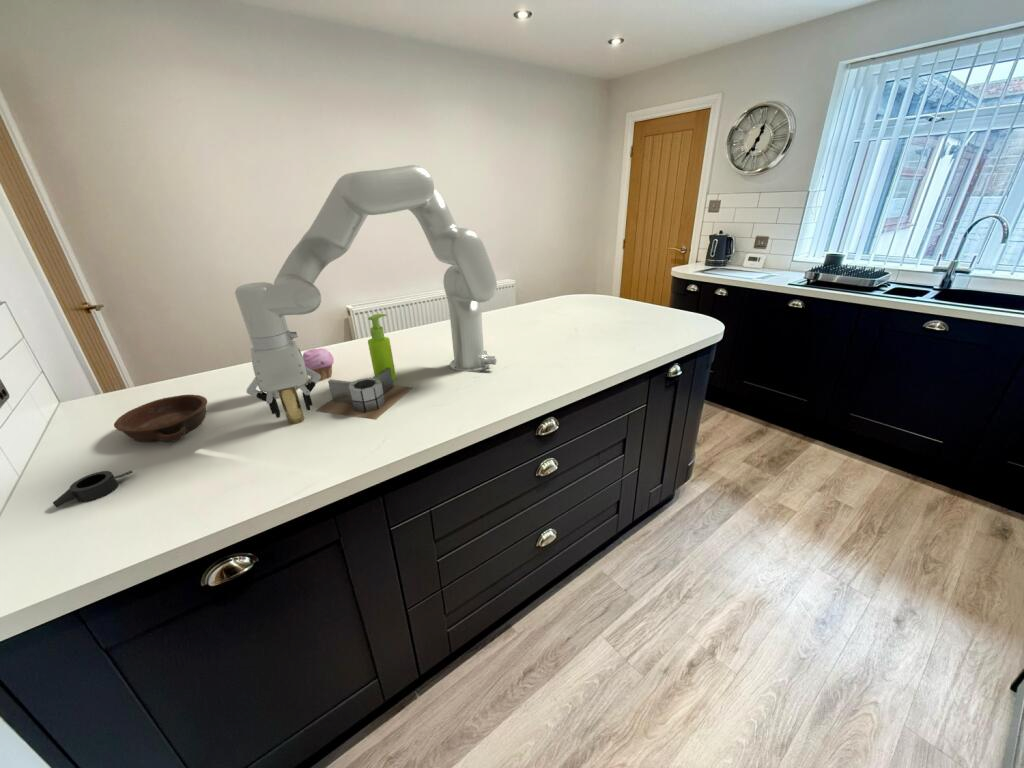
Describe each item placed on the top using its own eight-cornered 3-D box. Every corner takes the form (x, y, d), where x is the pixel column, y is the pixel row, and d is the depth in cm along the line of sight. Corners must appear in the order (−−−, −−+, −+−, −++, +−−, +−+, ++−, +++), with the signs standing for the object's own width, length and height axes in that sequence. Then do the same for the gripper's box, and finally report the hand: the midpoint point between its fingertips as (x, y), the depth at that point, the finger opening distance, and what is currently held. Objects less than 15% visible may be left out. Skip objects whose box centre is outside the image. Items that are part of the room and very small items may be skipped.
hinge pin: (308, 421, 96) (298, 384, 92) (297, 428, 93) (286, 391, 89) (297, 419, 97) (285, 383, 93) (285, 426, 94) (273, 389, 90)
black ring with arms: (75, 488, 76) (67, 476, 75) (139, 473, 80) (133, 462, 78) (52, 514, 70) (43, 501, 68) (123, 497, 73) (115, 485, 72)
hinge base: (413, 390, 110) (413, 387, 110) (376, 423, 94) (375, 419, 94) (359, 384, 115) (358, 381, 114) (315, 414, 99) (314, 410, 99)
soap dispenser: (402, 377, 118) (392, 313, 109) (387, 387, 112) (374, 320, 104) (387, 375, 120) (376, 311, 112) (371, 384, 115) (358, 318, 106)
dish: (125, 463, 83) (114, 443, 81) (122, 425, 98) (112, 407, 95) (221, 431, 94) (214, 413, 92) (206, 401, 108) (199, 385, 106)
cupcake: (302, 381, 118) (293, 350, 114) (330, 371, 124) (322, 342, 120) (314, 389, 113) (305, 357, 108) (343, 379, 118) (335, 348, 114)
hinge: (404, 388, 109) (400, 368, 106) (373, 413, 97) (368, 392, 94) (359, 383, 113) (355, 364, 110) (324, 407, 100) (318, 386, 98)
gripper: (313, 329, 93) (330, 396, 100) (227, 343, 85) (253, 414, 93) (315, 338, 87) (333, 409, 94) (223, 353, 79) (251, 428, 87)
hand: (293, 411), depth 94 cm, fingers open, 5 cm apart
